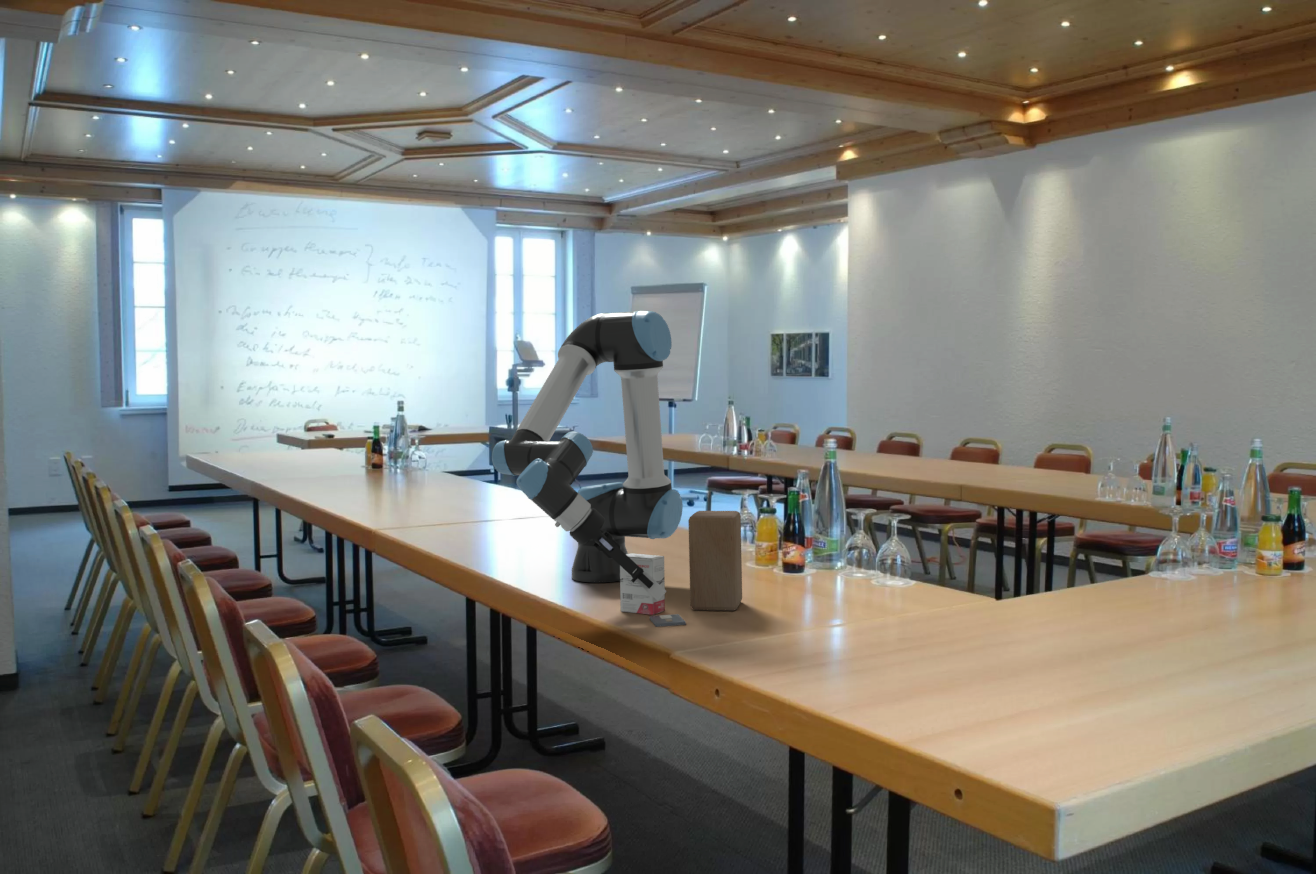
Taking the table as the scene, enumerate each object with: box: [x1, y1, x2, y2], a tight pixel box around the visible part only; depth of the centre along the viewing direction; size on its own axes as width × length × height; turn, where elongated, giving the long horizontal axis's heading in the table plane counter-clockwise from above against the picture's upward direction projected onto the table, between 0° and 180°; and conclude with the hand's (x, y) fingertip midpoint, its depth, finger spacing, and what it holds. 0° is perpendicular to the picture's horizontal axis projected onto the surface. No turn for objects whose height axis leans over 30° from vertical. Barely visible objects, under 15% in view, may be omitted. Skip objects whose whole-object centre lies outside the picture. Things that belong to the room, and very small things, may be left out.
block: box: [687, 510, 743, 612], centre depth 226 cm, size 10×10×20 cm
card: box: [648, 613, 687, 628], centre depth 213 cm, size 7×6×1 cm
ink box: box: [619, 552, 666, 616], centre depth 223 cm, size 9×5×12 cm, turn 58°
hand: (657, 591), depth 223 cm, fingers closed on ink box, 9 cm apart
